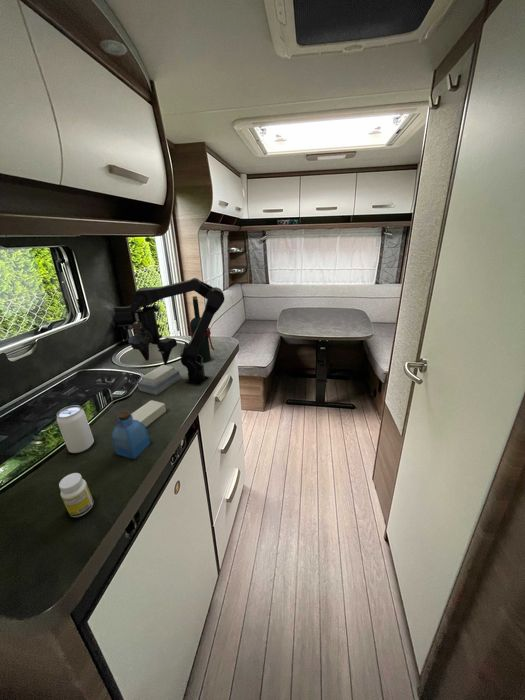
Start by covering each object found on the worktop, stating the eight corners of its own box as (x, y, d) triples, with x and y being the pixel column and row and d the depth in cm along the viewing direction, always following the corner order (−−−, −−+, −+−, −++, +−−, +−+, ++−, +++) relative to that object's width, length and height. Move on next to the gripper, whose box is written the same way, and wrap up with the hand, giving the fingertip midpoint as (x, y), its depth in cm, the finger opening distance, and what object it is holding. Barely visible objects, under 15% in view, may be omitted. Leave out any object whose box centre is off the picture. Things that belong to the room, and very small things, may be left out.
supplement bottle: (76, 499, 63) (65, 471, 60) (97, 497, 64) (87, 470, 60) (64, 519, 59) (51, 490, 56) (87, 517, 59) (75, 488, 56)
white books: (152, 407, 96) (151, 399, 95) (166, 411, 94) (164, 403, 93) (126, 426, 87) (124, 418, 86) (141, 430, 85) (139, 423, 84)
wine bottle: (213, 363, 128) (206, 298, 116) (191, 362, 128) (182, 298, 117) (217, 356, 135) (211, 294, 123) (197, 355, 136) (188, 294, 124)
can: (82, 455, 76) (69, 419, 71) (62, 452, 77) (48, 417, 73) (99, 439, 82) (88, 405, 77) (80, 436, 83) (68, 403, 78)
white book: (163, 368, 115) (162, 364, 115) (174, 371, 113) (173, 367, 112) (142, 381, 106) (141, 376, 106) (154, 384, 104) (153, 379, 103)
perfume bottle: (150, 443, 80) (141, 408, 75) (134, 459, 74) (124, 422, 70) (132, 439, 82) (123, 405, 77) (116, 454, 76) (105, 418, 71)
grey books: (164, 374, 119) (163, 366, 117) (181, 378, 115) (180, 370, 114) (138, 390, 107) (137, 382, 106) (156, 395, 104) (154, 386, 102)
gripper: (111, 327, 98) (121, 367, 104) (151, 333, 90) (160, 375, 97) (136, 318, 107) (144, 355, 113) (174, 323, 100) (181, 362, 106)
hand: (156, 362), depth 107 cm, fingers open, 9 cm apart
